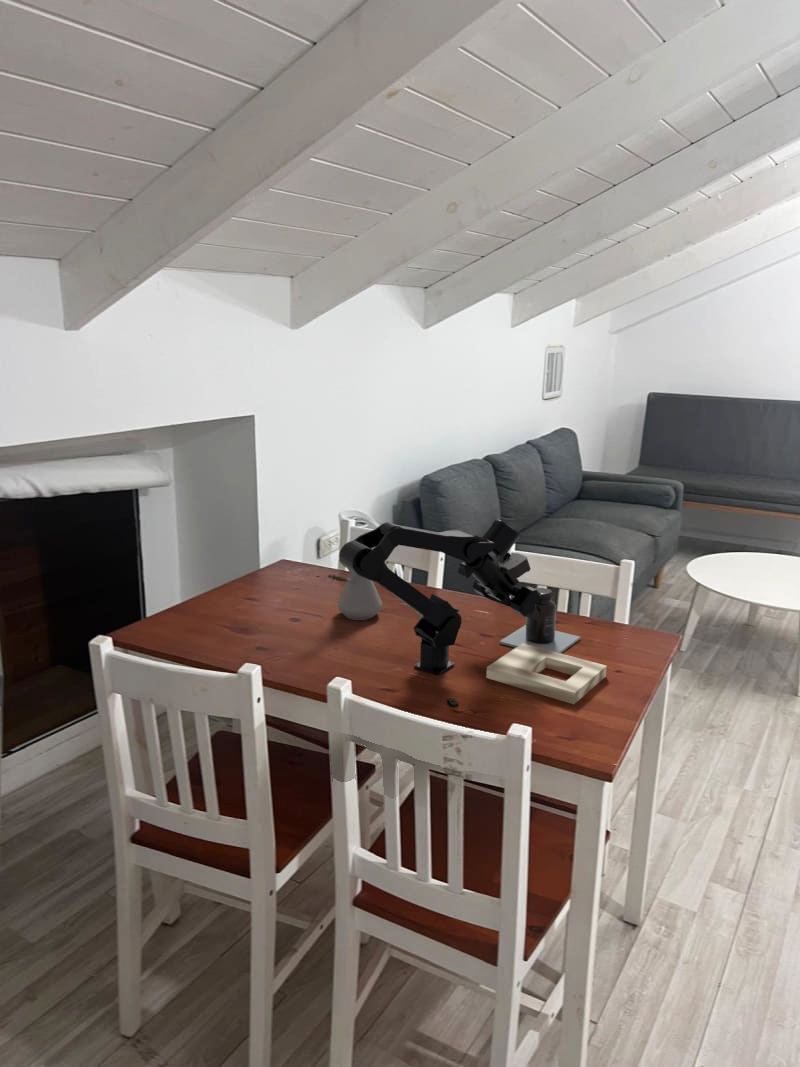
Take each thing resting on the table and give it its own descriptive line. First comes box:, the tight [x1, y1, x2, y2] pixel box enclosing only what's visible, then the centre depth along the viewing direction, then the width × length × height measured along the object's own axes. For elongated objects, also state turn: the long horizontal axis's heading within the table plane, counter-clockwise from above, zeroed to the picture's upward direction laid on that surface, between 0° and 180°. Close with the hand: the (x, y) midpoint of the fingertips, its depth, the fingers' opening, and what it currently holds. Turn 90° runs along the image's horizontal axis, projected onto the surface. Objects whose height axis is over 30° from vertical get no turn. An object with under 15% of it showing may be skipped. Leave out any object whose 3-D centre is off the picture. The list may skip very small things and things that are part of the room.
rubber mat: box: [499, 624, 581, 654], centre depth 190 cm, size 14×14×1 cm
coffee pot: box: [323, 568, 383, 621], centre depth 200 cm, size 21×12×15 cm, turn 154°
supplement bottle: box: [525, 587, 557, 644], centre depth 189 cm, size 7×7×12 cm
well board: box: [486, 643, 608, 705], centre depth 171 cm, size 16×20×2 cm
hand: (524, 611), depth 186 cm, fingers open, 9 cm apart
